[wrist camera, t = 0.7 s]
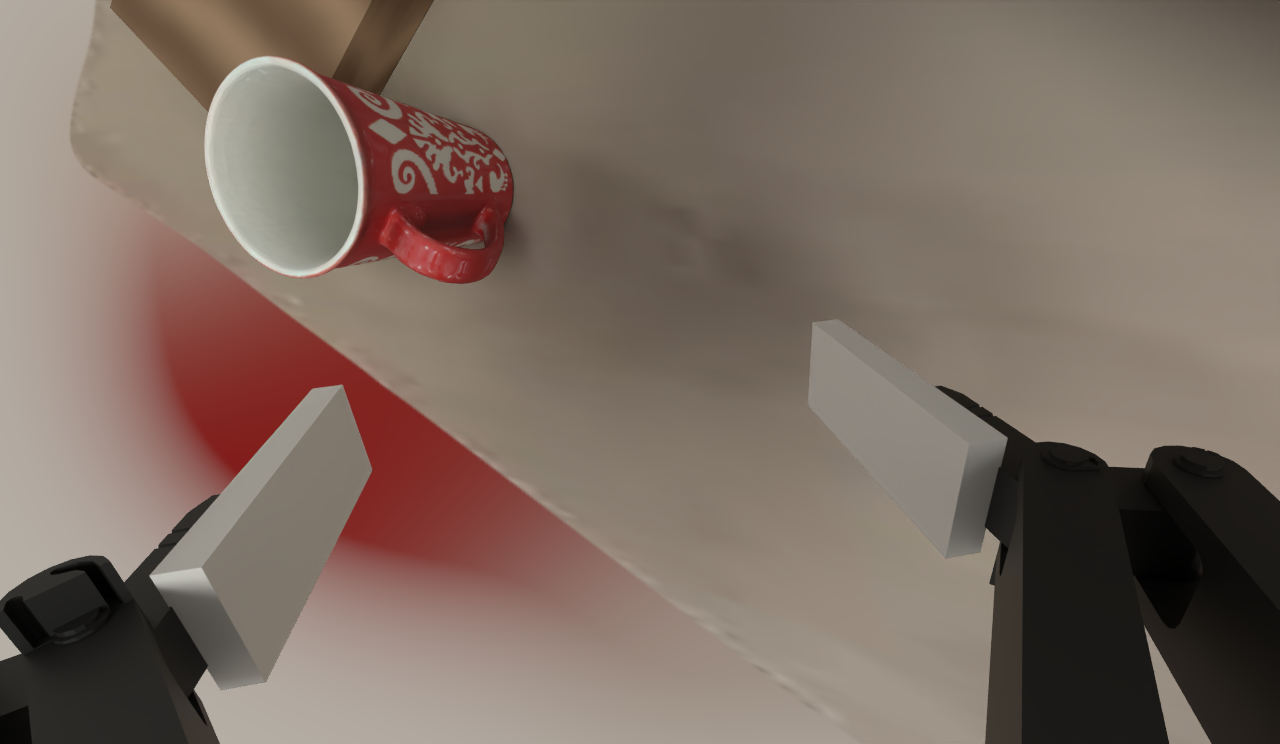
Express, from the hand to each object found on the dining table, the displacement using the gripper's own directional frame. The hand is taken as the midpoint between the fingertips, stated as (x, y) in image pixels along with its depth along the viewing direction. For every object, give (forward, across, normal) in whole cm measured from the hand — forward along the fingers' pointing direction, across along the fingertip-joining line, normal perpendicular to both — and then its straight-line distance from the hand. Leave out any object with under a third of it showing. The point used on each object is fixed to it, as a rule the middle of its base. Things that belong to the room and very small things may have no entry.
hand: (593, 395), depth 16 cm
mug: (+25, -5, +2) cm, 25 cm away
